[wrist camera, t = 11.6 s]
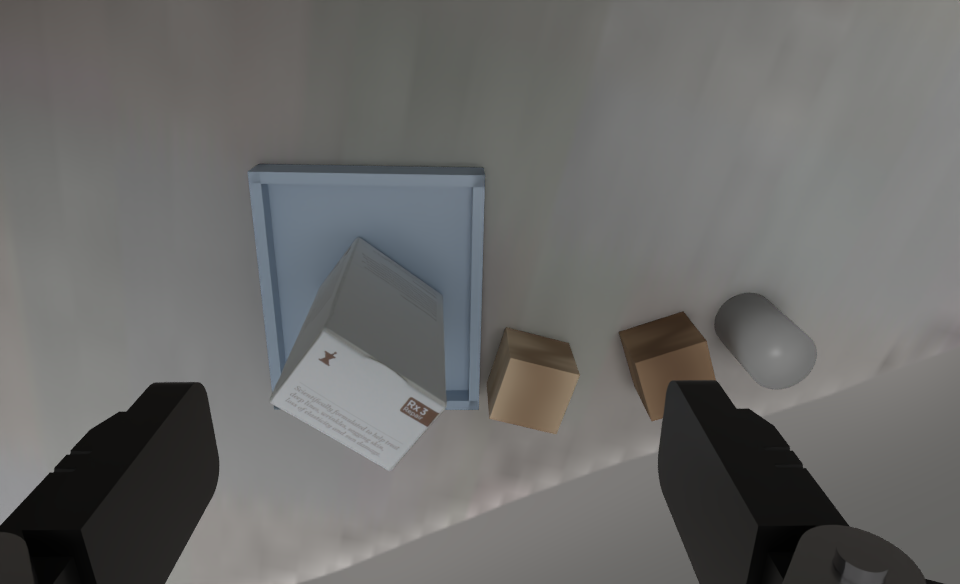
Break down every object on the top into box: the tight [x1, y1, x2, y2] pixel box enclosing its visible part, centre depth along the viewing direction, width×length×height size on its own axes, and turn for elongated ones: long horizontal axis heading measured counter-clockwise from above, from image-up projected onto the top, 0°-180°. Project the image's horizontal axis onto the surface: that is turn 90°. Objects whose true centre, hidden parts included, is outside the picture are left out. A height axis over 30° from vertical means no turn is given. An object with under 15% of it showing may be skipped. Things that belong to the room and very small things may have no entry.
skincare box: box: [270, 237, 447, 471], centre depth 31 cm, size 6×4×12 cm
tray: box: [248, 164, 485, 410], centre depth 37 cm, size 12×14×2 cm
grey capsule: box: [715, 293, 817, 389], centre depth 37 cm, size 4×4×5 cm
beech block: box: [487, 327, 580, 434], centre depth 38 cm, size 4×4×4 cm
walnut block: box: [619, 312, 716, 421], centre depth 38 cm, size 4×4×4 cm
